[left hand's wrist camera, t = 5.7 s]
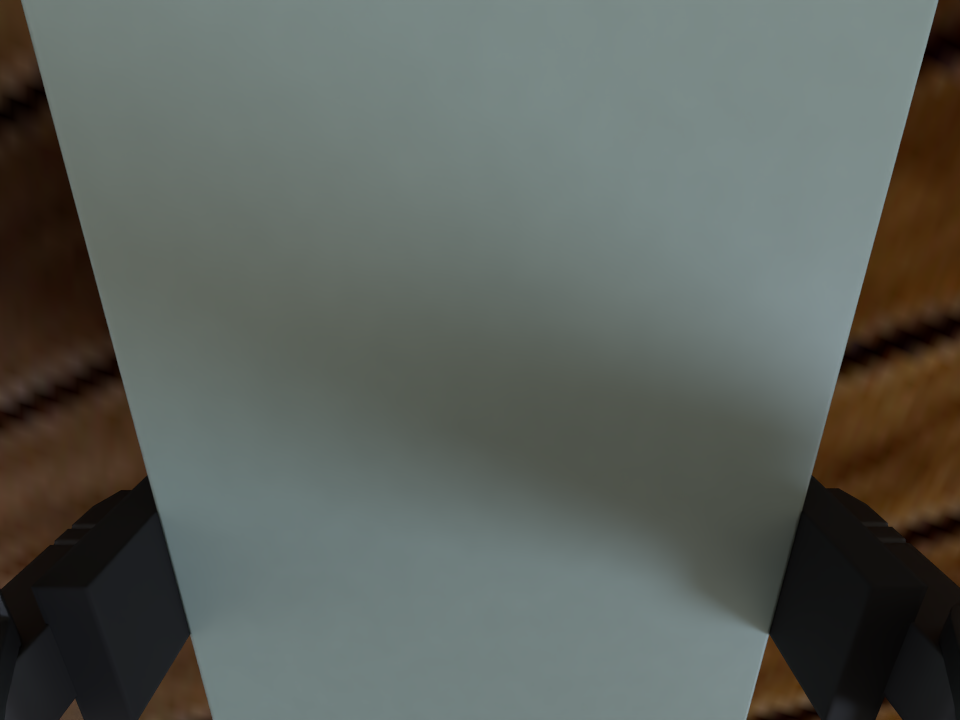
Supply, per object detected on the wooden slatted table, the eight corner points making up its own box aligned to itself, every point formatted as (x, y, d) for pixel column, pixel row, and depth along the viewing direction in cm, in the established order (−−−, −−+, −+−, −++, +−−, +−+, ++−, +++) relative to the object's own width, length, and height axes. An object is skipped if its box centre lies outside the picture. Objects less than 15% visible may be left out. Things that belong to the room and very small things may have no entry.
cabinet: (256, -235, 12) (-323, -1258, 3) (702, -235, 12) (1282, -1254, 3) (336, 464, 19) (212, 727, 10) (622, 464, 19) (746, 727, 10)
